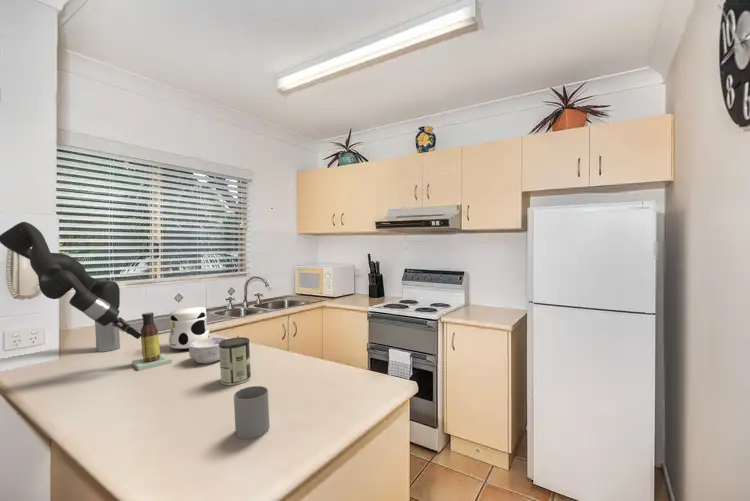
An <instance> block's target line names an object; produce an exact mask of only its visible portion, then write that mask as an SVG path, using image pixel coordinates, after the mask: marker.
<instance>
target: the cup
mask: <svg viewBox="0 0 750 501" xmlns="http://www.w3.org/2000/svg"><path fill="white" fill-rule="evenodd" d="M233 404H234V405H233V406H234V408H233V409H234V429H235V435H236V437H237V438H239V439H241V440H252V439H257V438H259V437H261V436H264V435H266V433H268V432H269V430H270V426H271V425H270V406H269V404H270V402H269V389H268V388H267V387H265V386H262V385H255V386H254V385H253V386H247V387H244V388H241V389H240V390H237V391H236V392H235V393H234V394H233Z"/></svg>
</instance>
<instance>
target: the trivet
mask: <svg viewBox="0 0 750 501" xmlns="http://www.w3.org/2000/svg"><path fill="white" fill-rule="evenodd" d="M172 363H173V359H172V358H171V357H170V356H168V355H166V354H165V353H160V358H159V359H157V360H155V361H150V362H146V361H143V357H141V358H137V359H133V360H131V364H132V365H133V367H134V368H135V369H136V370H137V371H139V372H140V371H143V370H147V369H152V368H155V367H160V366H164V365H170V364H172Z"/></svg>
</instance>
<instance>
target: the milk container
mask: <svg viewBox="0 0 750 501" xmlns="http://www.w3.org/2000/svg"><path fill="white" fill-rule="evenodd" d="M207 318H208V317H207V310H206V307H203V306H202V307H201V306H198V307H197V306H196V307H195V306H194V307H184V308H178V309H174V310H171V311H170V313H169V319H170V320H169V322H170V332H169V338H168V342H169V346H170V347H171V349H173V350H179V351H184V350H188V351H189V345H190V344H191V343H193V342H195V341H198V340H201V339H206V338H210V330H209V328H208V320H207Z"/></svg>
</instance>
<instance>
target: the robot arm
mask: <svg viewBox="0 0 750 501" xmlns="http://www.w3.org/2000/svg"><path fill="white" fill-rule="evenodd" d="M0 244H1V245H2V246H4V247H5V248H7V249H9V251H11V252H14V253H15V254H18V255H19V256H22V257H24V258H25V259H28V260H29V263H30V267H31V269H32V270H33V272H34V273H35V274H36V276H37V279H38V285H39V287H38V288H39V289H40V290H39V291H40V292H41V293H42V295H44V296H45V298H48V299H52V300H57V299H60V298H62V297H64V296H65V295H66V294H67V293H68V292H70V290H72V289H73V290H74V291H75V292H74V294H73V296H72V297H71V298H70V300H69V302H68V303H69V304H70V305H71V306H72V307H73V308H75V309H77V310H78V311H81V312H82V313H83V314H84V315H86V316H87V317H88V318H89V319H91V320H93V321H94V327H95V329H94V331H95V347H96V348H95V349H96V352H97V353H103V352H104V353H105V352H110V350H111V351H114V350H118V349H119V348H120V347H121V342H120V341H121V339H120V331H121V332H123V333H126V334H127V335H131V336H132V337H134V338H135V339H137V340H138V339H141V335H142V334H141V332H139V331H137V330H136V329H135V328H134V327H132V326H131V324H130V323H128V322H127V321H126V320H125V319H123V318H122V317H121V316H119V314H120V310H119V308H120V304H121V300H120V298H121V295H120V294H121V291H120V289H121V288H120V286H119V284H118V283H117V282H116V281H113V280H103V281H102V280H98V279H96V278H94V277H93V276H91V275H89V274H88V273H87V271H86V269H85V267H84V265H83V264H82V263H80V262H79V261H78V260H77V259H75V258H73V256H71V255H69V254H65V253H58V252H51V251H50V248H49V245H48V243H47V241H46V239H45V236H44V235H43V233H42V232H41V230H39V229H38V228H37V227H36V226H34V225H33V224H32V223H29V222H27V221H21V222H19V223H17V224H15V225H14V226H12V227H11V228H9V229H7V230H6V231H4V232H3V233H1V234H0Z"/></svg>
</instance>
